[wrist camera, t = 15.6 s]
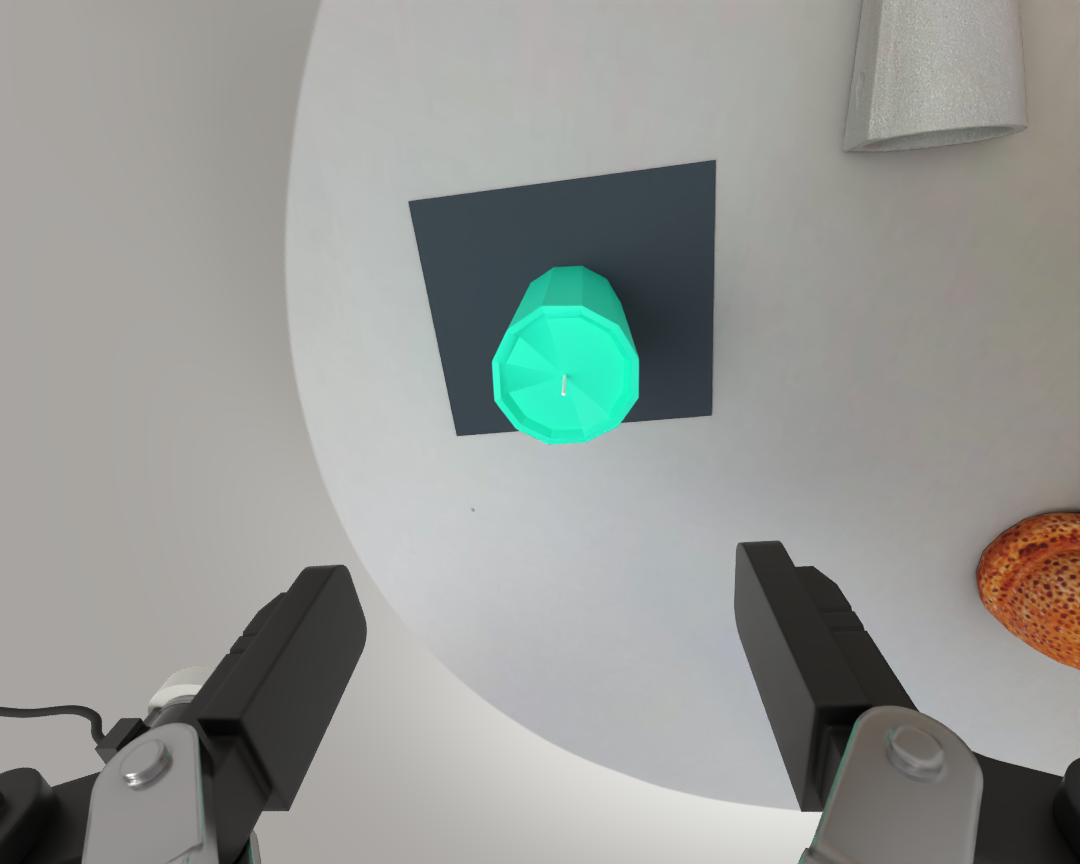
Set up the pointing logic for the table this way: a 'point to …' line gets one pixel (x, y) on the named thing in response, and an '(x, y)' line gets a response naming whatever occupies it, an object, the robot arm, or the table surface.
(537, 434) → the candle
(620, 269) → the mat
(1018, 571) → the figurine
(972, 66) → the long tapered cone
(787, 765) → the robot arm
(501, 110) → the table surface
